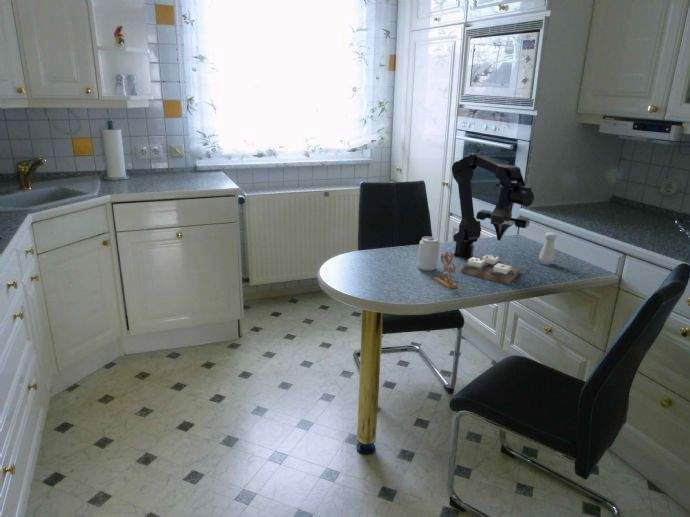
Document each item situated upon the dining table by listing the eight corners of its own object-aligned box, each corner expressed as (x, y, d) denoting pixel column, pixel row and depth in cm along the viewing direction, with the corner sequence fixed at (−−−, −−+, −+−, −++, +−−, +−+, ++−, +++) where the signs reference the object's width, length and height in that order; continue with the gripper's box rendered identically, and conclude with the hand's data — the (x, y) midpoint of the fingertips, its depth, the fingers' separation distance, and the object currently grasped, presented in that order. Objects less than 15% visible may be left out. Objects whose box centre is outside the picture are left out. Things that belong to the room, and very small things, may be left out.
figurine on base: (457, 287, 179) (462, 255, 175) (448, 288, 178) (453, 256, 174) (442, 278, 187) (446, 247, 183) (433, 279, 185) (437, 248, 181)
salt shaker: (553, 266, 207) (560, 235, 203) (539, 264, 208) (545, 234, 204) (551, 262, 213) (557, 232, 208) (537, 260, 214) (542, 230, 209)
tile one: (493, 271, 188) (493, 266, 188) (497, 267, 192) (498, 262, 192) (506, 274, 186) (507, 269, 185) (510, 270, 190) (511, 265, 189)
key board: (461, 272, 194) (462, 264, 193) (474, 262, 206) (475, 255, 205) (507, 284, 185) (509, 276, 184) (519, 273, 197) (521, 265, 196)
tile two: (481, 261, 198) (482, 256, 197) (485, 258, 202) (486, 253, 201) (494, 264, 195) (495, 259, 195) (498, 261, 199) (499, 256, 199)
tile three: (467, 264, 194) (468, 259, 193) (471, 261, 198) (472, 256, 197) (480, 267, 191) (480, 262, 190) (484, 264, 195) (485, 259, 194)
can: (438, 267, 198) (442, 237, 194) (433, 273, 192) (437, 242, 188) (420, 263, 201) (423, 234, 197) (414, 269, 194) (417, 239, 190)
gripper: (474, 199, 188) (468, 239, 193) (525, 208, 179) (517, 250, 184) (484, 195, 197) (478, 233, 202) (533, 203, 188) (525, 243, 193)
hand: (499, 240), depth 195 cm, fingers closed
